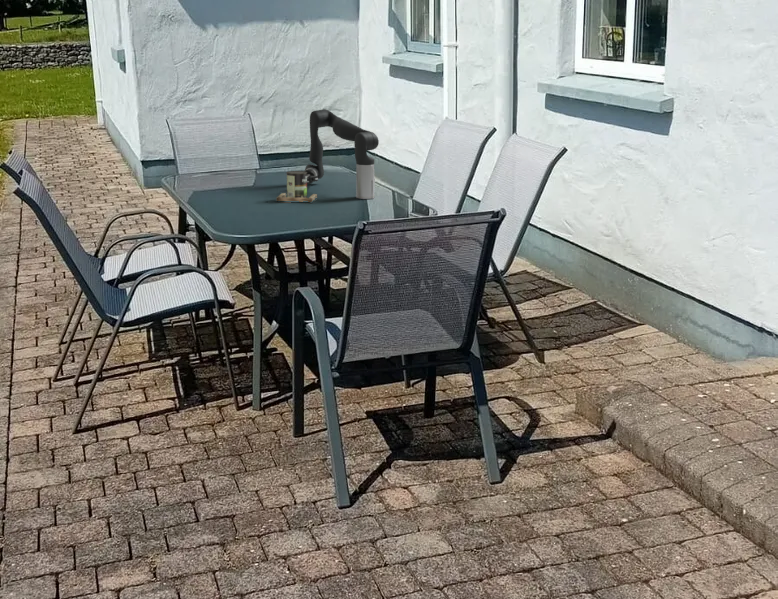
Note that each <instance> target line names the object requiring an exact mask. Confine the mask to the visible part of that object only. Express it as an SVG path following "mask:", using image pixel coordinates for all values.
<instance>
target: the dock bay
mask: <svg viewBox="0 0 778 599" xmlns="http://www.w3.org/2000/svg"><path fill="white" fill-rule="evenodd" d="M275 198H276V201H299V202H303V201H308V202H312V201H313V200H315V198H317V199H318V194H317V193H313V194H311V195H310V196H309V197H307V198H294V197H287V192H282V193H281V194H279V195H278V196H276V197H275ZM315 201H316V200H315Z"/></svg>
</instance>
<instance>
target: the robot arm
mask: <svg viewBox="0 0 778 599" xmlns="http://www.w3.org/2000/svg"><path fill="white" fill-rule="evenodd" d="M326 127H329V128H332V132H333V133H334V135H335V136H337V137H339V138H340V139H342V140H344V141H345V140H346V141H348V142H353V143H354V144H353V145H354V157H355V158H354V159H355V163H356V164H355V165H356V166H355V168H356V169H355V178H356V179H355V180H356V181H355V189H356V190H355V192H356V193H355V198H356V199H362V200H370V199H374V198H375V197H376V195H375V194H376V192H375V191H376V190H375V189H376V188H375V187H376V178H375V158H373V157H370V156H369V155H368V152H367V151H372V150H376V149H377V148H378V146H379V142H380V140H379V138H378V136H377V134H376V133H374V132H372V131H369V130H366V129H363V128H361V127H359V126H358V125H355V124H353V123H351V122H349V121H347V120H345V119H343V118H341V117H339V116H337V115H336V114H335V113H334V112H332V111H330V110H328V109H318V110H312V111H311V113H310V114H309V133H310V134H309V135H310V149H309V161H310V162H311V163H313V164H306V166H305V167H304V168H305V169H304V171H305V172H307V185H311V184H313V183H314V182H319V180H321V179H322V178H323V177H324V175H325V170H324V164H323V156H324V154H323V153H324V146H323V143H322V140H321V139H320V137H319V129H320V128H326Z"/></svg>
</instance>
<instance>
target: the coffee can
mask: <svg viewBox="0 0 778 599" xmlns="http://www.w3.org/2000/svg"><path fill="white" fill-rule="evenodd" d="M286 197H294V198H308V184H307V172H305V170H289V171H286Z"/></svg>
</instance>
